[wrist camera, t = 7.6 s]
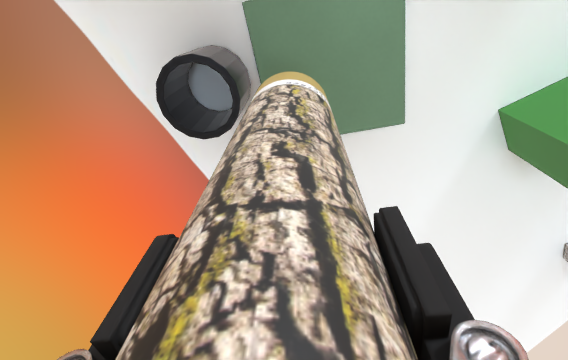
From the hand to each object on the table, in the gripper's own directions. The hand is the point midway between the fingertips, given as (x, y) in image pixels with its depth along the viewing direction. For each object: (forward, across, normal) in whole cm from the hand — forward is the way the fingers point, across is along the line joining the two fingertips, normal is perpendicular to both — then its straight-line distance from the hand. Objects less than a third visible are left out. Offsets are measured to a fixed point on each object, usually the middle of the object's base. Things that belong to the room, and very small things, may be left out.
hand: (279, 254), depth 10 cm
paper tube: (+18, 0, 0) cm, 18 cm away
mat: (+36, -5, 0) cm, 36 cm away
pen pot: (+36, +11, 0) cm, 37 cm away
